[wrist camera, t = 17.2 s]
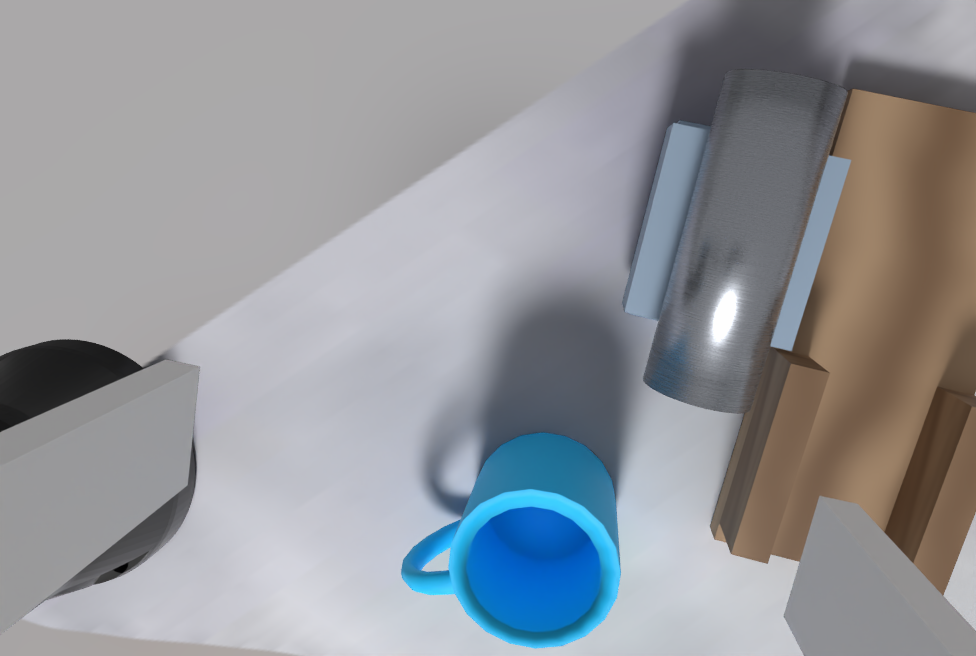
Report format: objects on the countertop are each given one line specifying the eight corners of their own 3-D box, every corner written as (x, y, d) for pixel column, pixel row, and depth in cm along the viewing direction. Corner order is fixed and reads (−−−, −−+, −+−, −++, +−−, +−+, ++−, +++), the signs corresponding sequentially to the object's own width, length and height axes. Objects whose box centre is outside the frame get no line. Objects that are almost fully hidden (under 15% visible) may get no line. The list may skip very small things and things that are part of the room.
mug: (588, 414, 41) (587, 468, 33) (634, 543, 42) (644, 625, 34) (396, 473, 44) (352, 536, 36) (444, 594, 45) (411, 682, 37)
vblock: (618, 307, 40) (621, 321, 36) (666, 120, 38) (676, 111, 33) (766, 341, 39) (788, 361, 35) (824, 153, 37) (855, 148, 33)
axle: (759, 400, 35) (740, 421, 31) (659, 368, 37) (628, 383, 33) (851, 103, 32) (843, 79, 28) (737, 87, 34) (714, 63, 30)
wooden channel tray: (710, 526, 41) (725, 571, 37) (842, 92, 36) (880, 77, 32) (890, 574, 40) (931, 626, 36) (1052, 134, 35) (1125, 126, 31)
